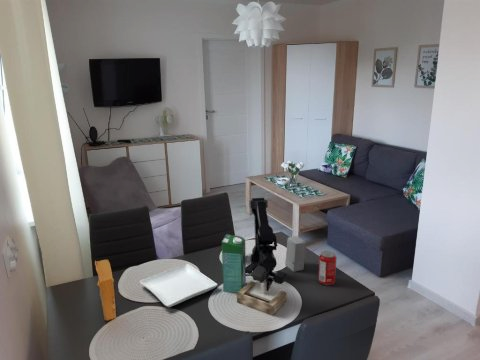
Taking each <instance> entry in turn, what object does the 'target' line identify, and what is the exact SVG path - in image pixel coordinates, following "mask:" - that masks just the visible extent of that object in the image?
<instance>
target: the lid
mask: <svg viewBox="0 0 480 360" xmlns="http://www.w3.org/2000/svg"><path fill="white" fill-rule="evenodd" d="M280 291H284V292H286V293H287V290H285V289H282V288H279V287H276V286H274V285H273V286H272V285H271V286H270V289H269V290H268V291H267V281H266V280H264V281H263V282H262V283H260V282H259V281H256V284H255V285H254V286H253V287H251V288H250V289H249V290H248V291H247V292H246V294H249V295H252V296H255V297H258V298H260V299H263V300H266V301H269V302H270V301H271V300H272V299H273V298H274V297H275V296H276V295H277V294H278V293H279V292H280Z"/></svg>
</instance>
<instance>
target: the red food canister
mask: <svg viewBox="0 0 480 360" xmlns="http://www.w3.org/2000/svg"><path fill="white" fill-rule="evenodd" d="M318 258H319V261H318V282H319V283H320V284H323V285H324V286H331V285H334V284H335V283H336V272H337V271H336V270H337V256H336V253H335V252H333V251H332V250H322V251H321V252H320V254H319V257H318Z"/></svg>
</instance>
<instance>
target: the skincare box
mask: <svg viewBox="0 0 480 360" xmlns="http://www.w3.org/2000/svg"><path fill="white" fill-rule="evenodd" d="M286 241H287V242H286V251H285V263H284V264H285V266H286V267H287V268H288V269H289V270H290V271H291V272H293V273H294V272H300V271H303V270H305V269H304V268H305V267H304V266H305V260H306V259H305V258H306V257H305V256H306V248H307V247H306V246H307V242H306V241H305V240H303V239H302V238H301V237H299V236H298V235H296V236H288V237H287V240H286Z"/></svg>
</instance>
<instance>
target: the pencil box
mask: <svg viewBox="0 0 480 360" xmlns="http://www.w3.org/2000/svg"><path fill="white" fill-rule="evenodd" d="M256 282H257V281H256ZM256 282H255V281H253V280H250V281H249V282H248V283H246V284H245V287H243V288H242V289H241V290H240V291H239V292H236V303H238V304H240V305H242V306H245V307H249V308H250V309H254V310H257V311H259V312H262V313H265V314H267V315H269V316H272V317H273V316H274V315H276V314H277V312H278V311H279V310H280V309H281V308H282V307H283V306H284V305H285V304H286V303H287V291H286V292H284V291H280V292H279V293H278V294H277V295H276V296H275V297H274V298H273V299H272V300H271V301H270V302H269V301H266V300H263V299H260V298H258V297H255V296H252V295H249V294H246V292H247V291H248V290H249V289H250V288H251V287H253V286H254V285H255V284H256Z"/></svg>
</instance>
